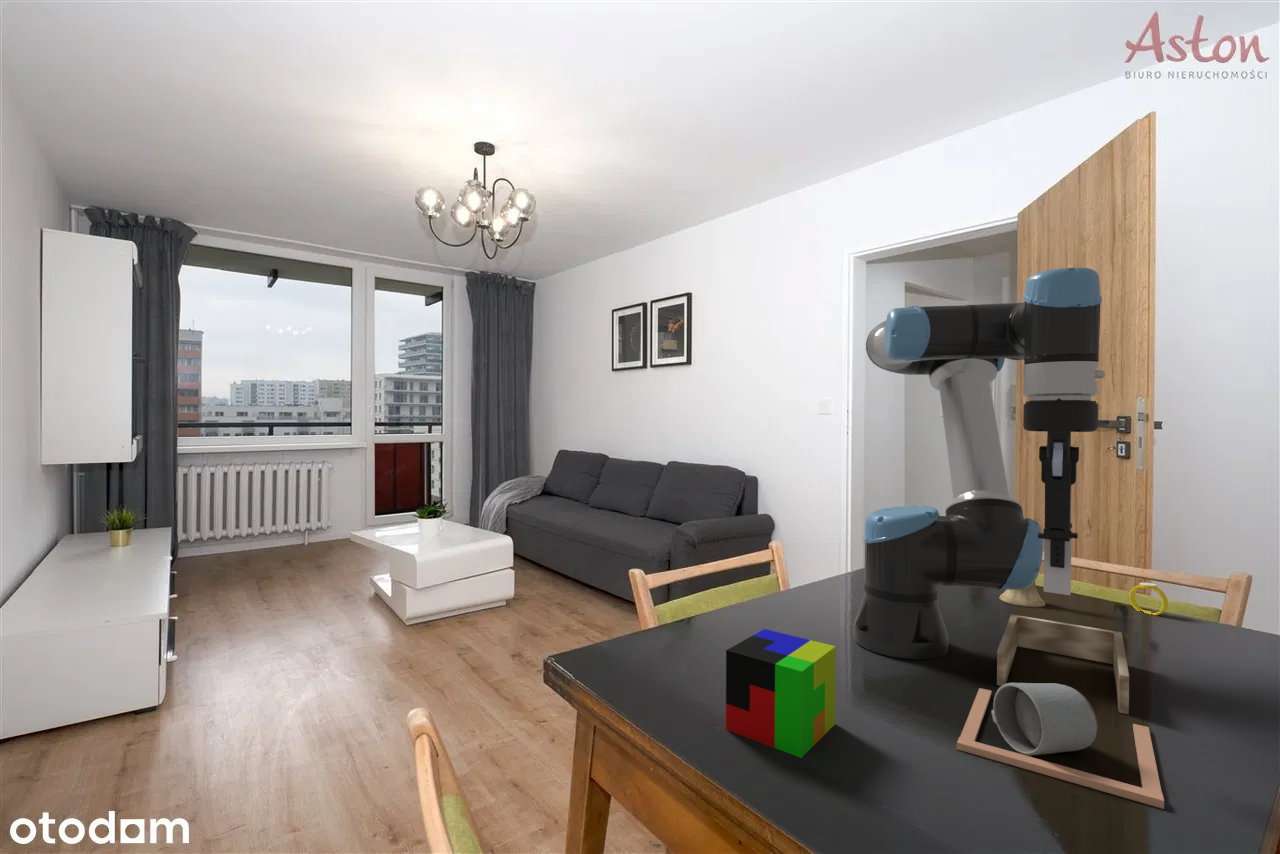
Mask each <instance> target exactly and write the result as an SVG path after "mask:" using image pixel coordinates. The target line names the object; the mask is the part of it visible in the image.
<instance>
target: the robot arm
mask: <svg viewBox="0 0 1280 854" xmlns="http://www.w3.org/2000/svg"><path fill="white" fill-rule="evenodd" d="M1100 285H1101V284H1100V276H1099V273H1098V272H1097V271H1096V270H1095V269H1092V268H1089V267H1088V268H1087V267H1063V268H1061V267H1060V268H1054V269H1049V270H1043V271H1040V272H1036V273H1033V274H1032V275H1031V276H1029V277H1028V278H1027V280H1026V281H1025V289H1024V294H1023V297H1022V299H1023V301H1024V302H1009V303H1006V302H1005V303H1004V302H1003V303H983V304H982V303H981V304H980V303H979V304H966V305H935V306H934V305H933V306H928V305H927V306H919V305H911V306H906V307H895V308H893V309H891V310H890V311H888V313H887V315H886V319H885V320H884V321H882V322H880V323H879V324H877V325H876V326H875V327H874V328H873V329H872V330H871V331H870V332H869V334H868V335H867V338H866V342H865V350H866V353H867V357H868V358H869V361H871V363H872V364H874V365H875V366H877V368H880V369H882V370H883V371H887V372H890V373H894V374H901V375H912V376H914V375H915V376H916V375H919V376H920V375H922V376H924V375H926V376H929V377H928V378H929V383H930V385H931V387H932V388H934V389H935V390H937V391H939V393H940V394H939V397H940V402H941V403H940V404H941V405H940V406H941V412H942V420H943V427H944V434H945V435H944V436H945V442H946V451H947V458H948V466H949V467H948V468H949V474H950V484H951V489H952V490H951V491H952V499H953V501H952V502H951V503H950V504H949V505H948V506H947V507H945V515H940V512H939V511H938V508H936V507H935V506H927V505H918V506H917V505H902V506H901V505H900V506H893V507H885V508H881V509H877V510H875V511H872V512H871V513H869V514H868V515H867V517H866V518H865V523H864V533H863V534H864V535H863V538H862V540H863V542H864V567H863V568H864V570H863V571H864V574H863V575H864V577H863V580H864V582H863V585H864V586H863V596H862V599H861V602H860V605H859V607H858V608H859V609H858V611H857V614H856V617H855V619H854V622H853V627H852V638H853V640H854V642H855V643H856V644H857V645H859V646H860V647H862V648H864V649H867V650H868V651H871V652H874V653H876V654H880V655H883V656H888V657H893V658H899V659H906V660H907V659H908V660H931V659H936V658H941V657H943V656H945V655H947V654H948V652H949V650H950V649H949V644H950V643H949V642H950V641H949V639H950V638H949V633H948V630H947V627H946V625H945V622H944V619H943V615H942V613H941V612H942V611H941V609H940V607H939V604H938V589H939V586H942V587H946V586H947V587H960V588H961V587H962V588H974V589H975V588H976V589H991V590H997V591H1003V590H1007V589H1012V590H1022V589H1026V588H1028V587H1030V586H1031V585H1032V584H1033V583H1034V582H1035V583H1036V580H1037V578H1038V576H1039V574H1040V571H1041V567H1042V562H1043V592H1046V593H1051V594H1058V595H1066V596H1071V594H1072V539H1075V540H1076V539H1078V537H1079V535H1078V534H1079V533H1078V532H1072V528H1073V523H1071V519H1072V518H1071V517H1072V516H1071V515H1072V486H1073V485H1074V484H1075V483H1076V481H1077V463H1078V462H1079V461H1080V447H1079V446H1072V433H1092V432H1096V431H1097V430H1098V428H1099V403H1097V401H1096V400H1092V397H1096V396H1097V395H1098V394H1099V381H1098V380H1097V379H1104V378H1105V377H1106V372H1105V370H1102V369H1098V367H1099V362H1100V358H1099V357H1100V356H1099V355H1100V331H1101V330H1100V327H1101V324H1100V323H1101V304H1102V301H1103V299H1102V296H1101V286H1100ZM1005 359H1008V360H1012V361H1020V360H1023V369H1022V370H1023V372H1022V373H1023V374H1022V375H1023V377H1022V378H1023V380H1022V381H1023V386H1022V389H1023V390H1022V395H1023V396H1024V397H1027V398H1028V400H1027V401H1025V403H1024V404H1023V409H1022V410H1023V413H1022V414H1023V415H1022V418H1023V419H1022V426H1023V427H1022V428H1023V429H1024V430H1025V431H1027V432H1028V431H1029V432H1047V433H1046V434H1047V435H1046V445H1040V446H1039V448H1038V449H1039V450H1038V451H1039V452H1038V459H1039V461H1040V462H1041V465H1040V467H1041V468H1040V469H1041V473H1040V474H1041V476H1040V478H1041V479H1040V481H1041V482H1042V483H1043V484H1044V528H1043V532H1042V528H1041V526H1040V525H1039V523H1038V521H1037V520H1035V519H1033V518H1030V517H1027V518H1025V517H1024V512H1023V507H1022V504H1021V503H1019V502H1018V501H1016V500H1015V499H1013V498H1011V497H1010V492H1009V487H1008V486H1009V485H1008V481H1007V477H1006V475H1007V474H1006V470H1005V463H1004V459H1003V458H1004V457H1003V452H1002V451H1003V450H1002V447H1001V441H1000V440H1001V439H1000V435H999V429H998V424H997V418H996V412H995V406H994V399H993V394H992V390H991V383H992V382H993V381H994V380H995V379H996V378H997V375H998V373H999V372H1000V371H1001V370H1002V369H1003V367H1004V363H1005Z"/></svg>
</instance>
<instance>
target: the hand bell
mask: <svg viewBox="0 0 1280 854" xmlns="http://www.w3.org/2000/svg"><path fill="white" fill-rule="evenodd" d="M998 598H999V600H1000V601H1001V602H1004V603H1007V604H1010V605H1013V606H1019V607H1023V608H1025V607H1026V608H1042V607H1046V602H1045V601H1044V599H1042V598H1041V596H1040V595H1039V593H1038V590H1037V585H1036V581H1035V582H1034V583H1033V584H1032V585H1031V586H1030V587H1028V588H1026V589H1022V590H1012V589H1005V591H1004V592H1003V593H1002V594H1000V596H999V597H998Z"/></svg>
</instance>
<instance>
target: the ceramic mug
mask: <svg viewBox="0 0 1280 854" xmlns="http://www.w3.org/2000/svg"><path fill="white" fill-rule="evenodd" d="M992 704H993V709H991V716H992V721H993V723H994V724H996V726H997V728H998V731H999V734H1001V736H1002V738H1003V740H1004V741H1005V742H1006V743H1007V745H1009V746H1010V747H1011V748H1012V749H1013V750H1014V751H1016V753H1018V754H1022V755H1026V756H1029V757H1032V756H1039V755H1049V754H1056V753H1057V754H1058V753H1066V752H1067V753H1068V752H1076V751H1080V750H1083V749H1086V748H1088V747H1090V746H1092V744H1094V742H1095V740H1096V738H1097V736H1098V731H1099V730H1098V729H1099V728H1098V727H1099V725H1098V719H1097V716H1096V713H1095V710H1094V708H1093V706H1092V705H1091V703H1090V702H1089V701H1088V699H1087V698H1086V696H1084V694H1083V693H1081V692H1080V691H1078V690H1077V689H1075V688H1073V687H1071V686H1068V685H1067V684H1060V683H1054V682H1052V683H1049V682H1047V683H1046V682H1045V683H1044V682H1043V683H1040V682H1039V683H1036V682H1035V683H1034V682H1033V683H1032V682H1029V683H1028V682H1006V684H1004V685H1003V686H999V687H998V689H997V691H996V692H995V695H994V697H993V703H992Z"/></svg>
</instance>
